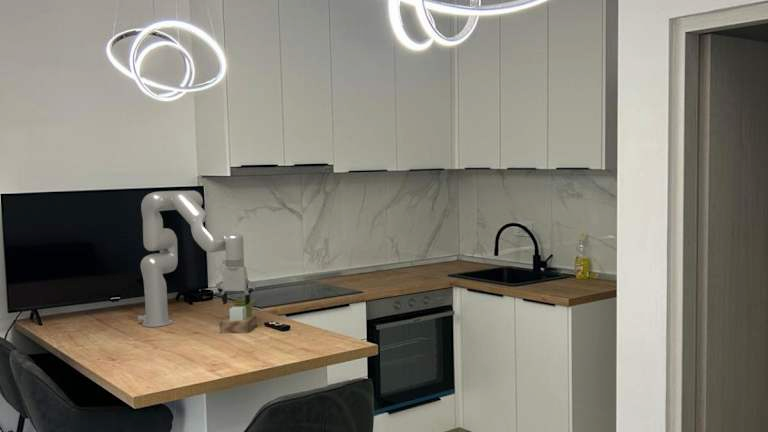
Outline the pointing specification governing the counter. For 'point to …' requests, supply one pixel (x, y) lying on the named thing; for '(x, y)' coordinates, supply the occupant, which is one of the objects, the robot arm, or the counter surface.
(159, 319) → the robot arm
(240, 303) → the plant pot
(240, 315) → the white small block
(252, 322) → the walnut block
